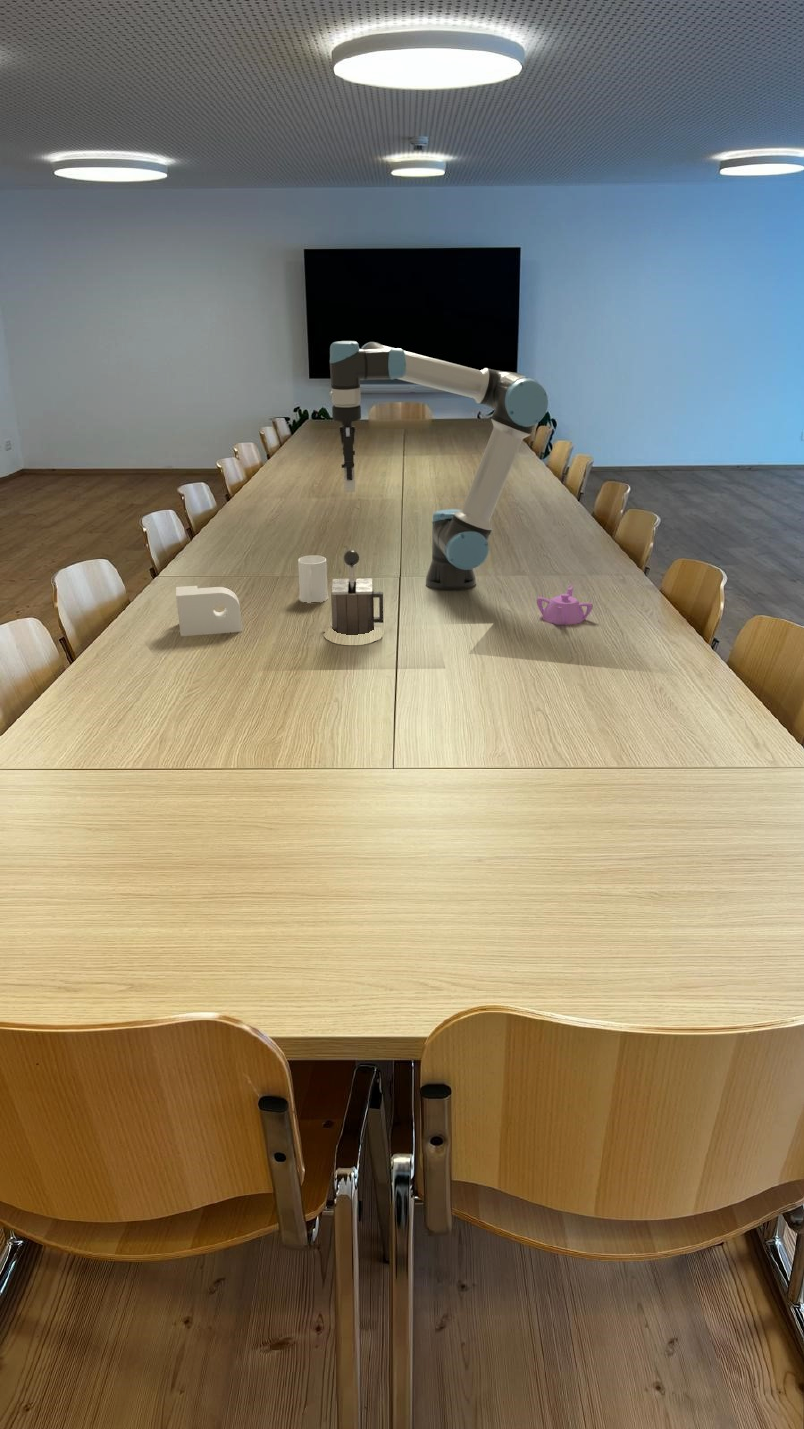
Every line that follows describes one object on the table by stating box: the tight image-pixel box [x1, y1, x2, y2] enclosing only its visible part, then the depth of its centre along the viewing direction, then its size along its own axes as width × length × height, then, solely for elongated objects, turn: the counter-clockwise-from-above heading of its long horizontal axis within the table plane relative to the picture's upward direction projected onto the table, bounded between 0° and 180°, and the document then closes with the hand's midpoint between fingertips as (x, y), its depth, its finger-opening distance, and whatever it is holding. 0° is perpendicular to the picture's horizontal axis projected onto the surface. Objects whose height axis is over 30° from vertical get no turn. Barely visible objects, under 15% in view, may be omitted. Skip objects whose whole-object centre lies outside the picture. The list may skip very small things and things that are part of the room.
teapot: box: [536, 584, 594, 626], centre depth 263 cm, size 12×14×9 cm
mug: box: [297, 554, 330, 604], centre depth 280 cm, size 12×8×12 cm
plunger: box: [343, 549, 360, 594], centre depth 254 cm, size 7×7×21 cm
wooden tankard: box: [330, 577, 384, 635], centre depth 257 cm, size 14×12×13 cm
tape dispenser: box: [175, 585, 243, 637], centre depth 259 cm, size 16×10×13 cm, turn 102°
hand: (349, 485), depth 264 cm, fingers open, 13 cm apart
